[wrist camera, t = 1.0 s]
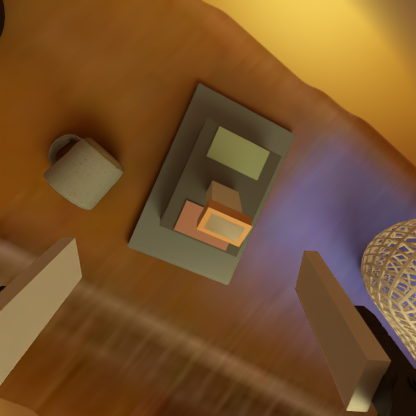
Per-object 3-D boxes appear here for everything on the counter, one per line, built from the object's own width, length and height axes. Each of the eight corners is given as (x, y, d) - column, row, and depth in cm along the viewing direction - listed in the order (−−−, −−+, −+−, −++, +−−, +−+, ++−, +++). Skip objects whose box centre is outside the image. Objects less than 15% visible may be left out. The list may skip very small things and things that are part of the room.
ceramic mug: (131, 170, 41) (122, 166, 33) (96, 208, 41) (80, 214, 33) (76, 123, 39) (54, 108, 32) (40, 163, 39) (9, 157, 31)
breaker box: (225, 281, 45) (238, 302, 38) (128, 244, 42) (120, 258, 34) (291, 136, 45) (317, 126, 37) (197, 86, 41) (205, 64, 34)
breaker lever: (233, 208, 36) (238, 246, 28) (200, 193, 35) (196, 229, 27) (244, 191, 35) (252, 226, 27) (210, 175, 34) (208, 207, 26)
